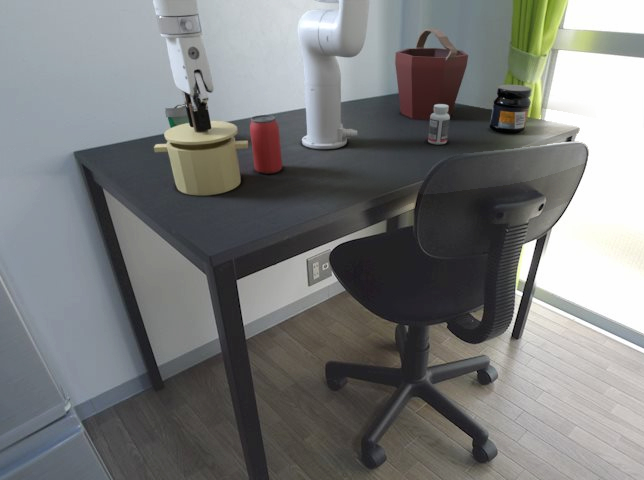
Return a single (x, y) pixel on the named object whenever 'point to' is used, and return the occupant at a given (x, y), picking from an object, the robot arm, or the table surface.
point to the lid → (200, 132)
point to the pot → (205, 166)
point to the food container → (177, 115)
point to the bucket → (429, 76)
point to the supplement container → (510, 109)
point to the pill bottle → (439, 125)
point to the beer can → (265, 144)
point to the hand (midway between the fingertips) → (200, 127)
